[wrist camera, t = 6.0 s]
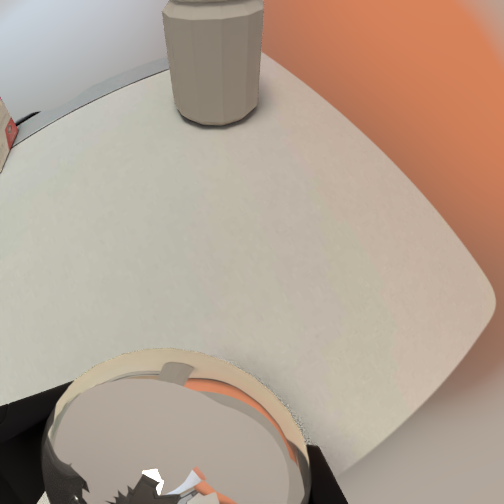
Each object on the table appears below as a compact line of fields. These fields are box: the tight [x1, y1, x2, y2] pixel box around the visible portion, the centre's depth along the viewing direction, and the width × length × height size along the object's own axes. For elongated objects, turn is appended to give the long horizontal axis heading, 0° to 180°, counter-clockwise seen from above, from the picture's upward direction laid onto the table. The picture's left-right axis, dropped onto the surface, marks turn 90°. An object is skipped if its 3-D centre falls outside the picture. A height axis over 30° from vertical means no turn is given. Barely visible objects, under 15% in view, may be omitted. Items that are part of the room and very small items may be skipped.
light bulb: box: [40, 348, 312, 504], centre depth 9 cm, size 7×7×12 cm
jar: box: [162, 0, 264, 125], centre depth 26 cm, size 10×10×18 cm
